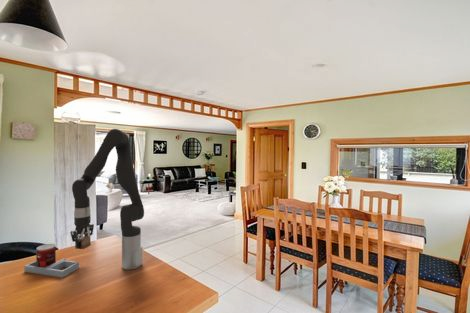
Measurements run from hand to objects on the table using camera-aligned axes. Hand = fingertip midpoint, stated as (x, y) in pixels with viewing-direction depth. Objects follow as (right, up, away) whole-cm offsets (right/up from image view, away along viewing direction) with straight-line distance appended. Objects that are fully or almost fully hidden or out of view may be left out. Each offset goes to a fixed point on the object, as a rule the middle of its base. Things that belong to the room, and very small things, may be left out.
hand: (83, 246), depth 132 cm
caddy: (-10, -9, -6) cm, 15 cm away
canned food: (-16, -9, -5) cm, 19 cm away
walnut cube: (0, -1, 0) cm, 1 cm away
